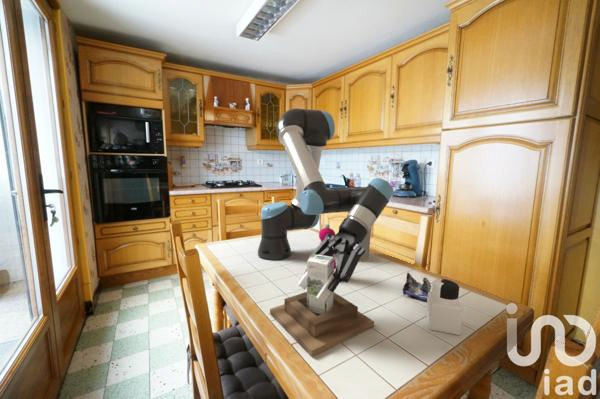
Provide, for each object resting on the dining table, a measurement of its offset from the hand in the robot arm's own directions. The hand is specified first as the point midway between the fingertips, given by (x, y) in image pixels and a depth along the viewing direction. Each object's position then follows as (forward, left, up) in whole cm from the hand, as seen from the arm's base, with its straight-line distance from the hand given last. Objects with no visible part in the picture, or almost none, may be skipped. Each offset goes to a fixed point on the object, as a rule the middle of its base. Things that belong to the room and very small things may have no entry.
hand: (310, 293), depth 70 cm
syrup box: (-1, +3, -6) cm, 7 cm away
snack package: (-5, +40, -9) cm, 41 cm away
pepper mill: (-26, +16, -9) cm, 32 cm away
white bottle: (+11, +33, -9) cm, 36 cm away
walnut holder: (-1, +3, -9) cm, 9 cm away
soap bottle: (-41, +37, -9) cm, 56 cm away
